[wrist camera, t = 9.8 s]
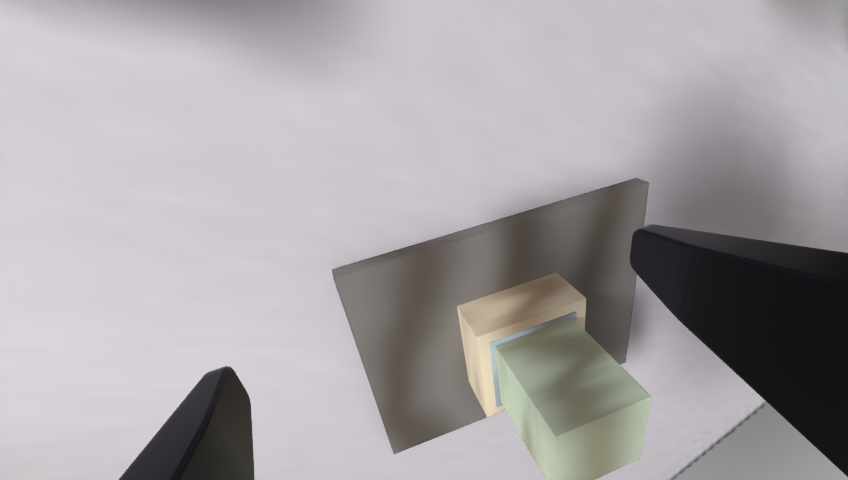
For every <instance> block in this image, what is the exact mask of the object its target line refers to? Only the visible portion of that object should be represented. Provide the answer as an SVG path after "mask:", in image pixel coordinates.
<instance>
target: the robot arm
mask: <svg viewBox="0 0 848 480" xmlns="http://www.w3.org/2000/svg"><path fill="white" fill-rule="evenodd" d="M630 264H631V267H632V268H633V270H634V271H635V272H636V273H637V274H638V276H639V277H640V278H641V279H642V280H643V281H644V282H645V283H646V284H647V286H648V287H649V288H650V289H651V290H652V291H653V292H654V293H655V295H656V296H657V297H658V298H659V299H660V300H661V301H662V302H663V303H664V305H665V306H666V307H667V308H668V309H669V310H670V311H671V312H672V313H673V314H674V315H675V317H676V318H677V319H678V320H679V321H680V322H681V323H682V324H684V325H685V326H686V327H687V328H688V329H689V330H690V331H691V332H692V333H693V334H694V335H695V336H696V337H697V338H699V339H700V340H701V341H702V342H703V343H704V344H705V345H706V346H707V347H708V348H709V349H710V350H711V351H713V352H714V353H715V354H716V355H717V356H718V357H719V358H720V359H721V360H722V361H723V362H724V363H725V364H727V365H728V366H729V367H730V368H731V369H732V370H733V371H734V372H735V373H736V374H737V375H738V376H739V377H741V378H742V379H743V380H744V381H745V382H746V383H747V384H748V385H749V386H750V387H751V388H752V389H754V390H755V391H756V392H757V393H758V394H759V395H760V396H761V397H762V398H763V399H764V400H765V401H766V402H768V403H769V404H770V405H771V406H772V407H773V408H774V409H775V410H776V411H777V412H778V413H780V414H781V415H782V416H783V417H784V418H785V419H786V420H787V421H788V422H789V423H790V424H791V425H792V426H793V427H794V428H796V429H797V430H798V431H799V432H800V433H801V434H802V435H803V436H804V437H805V438H806V439H807V440H809V441H810V442H811V443H812V444H813V445H814V446H815V447H816V448H817V449H818V450H819V451H820V452H821V453H823V454H824V455H825V456H826V457H827V458H828V459H829V460H830V461H831V462H832V463H833V464H834V465H835V466H837V467H838V468H839V469H840V470H841V471H842V472H843V473H844V474H845V475H846V476H847V477H848V253H843V252H837V251H830V250H823V249H816V248H809V247H803V246H796V245H789V244H782V243H776V242H769V241H762V240H755V239H748V238H742V237H735V236H728V235H721V234H715V233H708V232H701V231H694V230H687V229H681V228H674V227H667V226H660V225H647V226H644V227H642V228H639V229H636V230H635V231H634V233H633V235H632V241H631V251H630ZM119 480H254V459H253V439H252V419H251V403H250V399H249V396H248V393H247V392H246V390H245V388H244V386H243V385H242V383H241V381H240V380H239V378H238V376H237V375H236V373H235V371H234V370H233V369H232V368H231V367H228V366H225V367H222V368H219V369H216V370H213V371H210V372H208V373H206V374H205V375H204V376H203V377H202V379H201V380H200V381H199V382H198V383H197V385H196V386H195V387H194V388H193V390H192V391H191V392H190V393H189V394H188V396H187V397H186V398H185V399H184V401H183V402H182V403H181V404H180V405H179V407H178V408H177V409H176V410H175V412H174V413H173V414H172V415H171V416H170V418H169V419H168V420H167V421H166V423H165V424H164V425H163V426H162V427H161V429H160V430H159V431H158V432H157V433H156V435H155V436H154V437H153V438H152V440H151V441H150V442H149V443H148V444H147V446H146V447H145V448H144V449H143V451H142V452H141V453H140V454H139V455H138V457H137V458H136V459H135V460H134V462H133V463H132V464H131V465H130V466H129V468H128V469H127V470H126V471H125V473H124V474H123V475H122V476H121V477H120V479H119Z"/></svg>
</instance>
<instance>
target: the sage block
mask: <svg viewBox="0 0 848 480" xmlns="http://www.w3.org/2000/svg"><path fill="white" fill-rule="evenodd" d="M495 351H496V360H497V369H498V379H499V388H500V397H501V403H502V405H503V407H504V408H505V410H506V412H507V414H508V415H509V417H510V419H511V421H512V422H513V424H514V426H515V427H516V429H517V431H518V433H519V434H520V436H521V438H522V439H523V441H524V443H525V445H526V446H527V448H528V450H529V451H530V453H531V455H532V457H533V458H534V460H535V462H536V463H537V465H538V467H539V469H540V470H541V472H542V474H543V476H544V477H545V479H546V480H595V479H597V478H599V477H602V476H604V475H606V474H608V473H610V472H612V471H615V470H617V469H619V468H621V467H623V466H626V465H628V464H630V463H632V462H634V461H637V460H639V459H640V458H641V452H642V447H643V441H644V436H645V430H646V425H647V419H648V414H649V408H650V403H651V398H652V396H651V395H650V394H649V393H648V392H647V391H646V390H645V389H644V388H643V387H642V386H641V385H640V384H639V383H638V382H637V381H636V380H635V379H634V378H633V377H632V376H631V375H630V374H629V373H628V372H627V371H626V370H625V369H624V368H623V367H622V366H621V365H620V364H618V363H617V362H616V361H615V360H614V359H613V358H612V357H611V356H610V355H609V354H608V353H607V352H606V351H605V350H604V349H603V348H602V347H601V346H600V345H599V344H598V343H597V342H596V341H595V340H594V339H593V338H592V337H591V336H590V335H589V334H588V333H587V332H586V331H585V330H584V329H583V328H582V327H581V326H580V325H579V324H578V323H577V322H576V321H575V320H574V319H573V318H569V319H566V320H564V321H561V322H558V323H556V324H553V325H550V326H547V327H545V328H542V329H539V330H536V331H534V332H531V333H528V334H526V335H523V336H520V337H517V338H515V339H512V340H509V341H507V342H504V343H501V344H498V345H496V346H495Z"/></svg>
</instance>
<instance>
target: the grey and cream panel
mask: <svg viewBox="0 0 848 480" xmlns="http://www.w3.org/2000/svg"><path fill="white" fill-rule="evenodd" d="M648 184H649V183H648V182H645V181H643V180H640V179H638V178H635V179H632V180H629V181H625V182H622V183H619V184H615V185H612V186H609V187H605V188H602V189H599V190H595V191H592V192H589V193H585V194H582V195H579V196H575V197H572V198H569V199H565V200H562V201H559V202H555V203H552V204H549V205H545V206H542V207H539V208H535V209H532V210H529V211H525V212H522V213H519V214H515V215H512V216H509V217H505V218H502V219H499V220H495V221H492V222H489V223H486V224H482V225H479V226H476V227H472V228H469V229H466V230H462V231H459V232H456V233H452V234H449V235H446V236H442V237H439V238H436V239H432V240H429V241H426V242H422V243H419V244H416V245H412V246H409V247H406V248H402V249H399V250H396V251H392V252H389V253H386V254H382V255H379V256H376V257H372V258H369V259H366V260H362V261H359V262H356V263H352V264H349V265H346V266H343V267H339V268H336V269H333V270H332V272H333V278H334V281H335V284H336V287H337V290H338V293H339V296H340V299H341V302H342V305H343V308H344V310H345V313H346V316H347V319H348V322H349V325H350V328H351V331H352V334H353V337H354V339H355V342H356V345H357V348H358V351H359V354H360V357H361V360H362V363H363V366H364V369H365V371H366V374H367V377H368V380H369V383H370V386H371V389H372V392H373V395H374V398H375V400H376V403H377V406H378V409H379V412H380V415H381V418H382V421H383V424H384V427H385V430H386V432H387V435H388V438H389V441H390V444H391V447H392V450H393V453H394V454H396V453H399V452H401V451H404V450H406V449H409V448H411V447H414V446H416V445H419V444H421V443H424V442H426V441H429V440H431V439H434V438H436V437H439V436H441V435H444V434H446V433H449V432H451V431H454V430H456V429H459V428H461V427H464V426H466V425H469V424H471V423H474V422H476V421H479V420H482V419H484V418H487V417H489V416H492V415H494V414H497V413H499V412H502V411H504V410H505V408H504V407H503V405H502V403H501V397H500V388H499V379H498V369H497V360H496V351H495V346H496V345H498V344H501V343H504V342H507V341H509V340H512V339H515V338H517V337H520V336H523V335H526V334H528V333H531V332H534V331H536V330H539V329H542V328H545V327H547V326H550V325H553V324H556V323H558V322H561V321H564V320H566V319H569V318H573V319H574V320H575V321H576V322H577V323H578V324H579V325H580V326H581V327H582V328H583V329H584V330H585V331H586V332H587V333H588V334H589V335H590V336H591V337H592V338H593V339H594V340H595V341H596V342H597V343H598V344H599V345H600V346H601V347H602V348H603V349H604V350H605V351H606V352H607V353H608V354H609V355H610V356H611V357H612V358H613V359H614V360H615V361H616V362H617V363H618V364H622V363H625V361H626V354H627V346H628V338H629V330H630V323H631V315H632V307H633V300H634V292H635V284H636V277H637V273H636V272H635V271H634V270H633V268H632V267H631V264H630V251H631V241H632V235H633V233H634V231H635V230H636V229H639V228H642V227H643V223H644V215H645V207H646V200H647V192H648Z"/></svg>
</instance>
